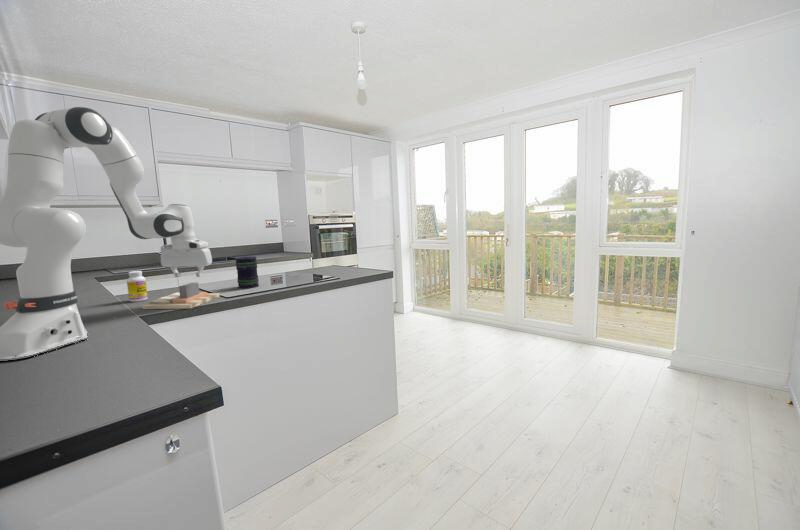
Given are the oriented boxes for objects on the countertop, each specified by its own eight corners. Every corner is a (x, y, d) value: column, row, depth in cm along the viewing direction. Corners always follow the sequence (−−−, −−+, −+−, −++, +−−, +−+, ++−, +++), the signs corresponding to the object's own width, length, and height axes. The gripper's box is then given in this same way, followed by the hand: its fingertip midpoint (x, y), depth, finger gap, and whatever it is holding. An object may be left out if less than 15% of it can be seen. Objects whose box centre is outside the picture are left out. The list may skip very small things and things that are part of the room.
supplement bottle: (138, 302, 151) (134, 273, 149) (125, 302, 152) (121, 272, 150) (151, 298, 157) (148, 270, 155) (139, 298, 159) (135, 270, 157)
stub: (186, 302, 141) (184, 287, 140) (172, 303, 141) (170, 287, 140) (207, 294, 154) (205, 281, 154) (194, 295, 155) (192, 281, 154)
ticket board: (190, 308, 138) (189, 301, 137) (142, 309, 139) (141, 302, 139) (219, 296, 157) (218, 290, 157) (177, 297, 159) (176, 291, 158)
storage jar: (239, 285, 181) (236, 257, 179) (259, 284, 184) (257, 256, 182) (236, 289, 172) (233, 259, 170) (258, 287, 175) (255, 258, 173)
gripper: (154, 245, 142) (159, 278, 144) (203, 244, 141) (207, 277, 143) (165, 243, 148) (170, 275, 151) (212, 242, 147) (216, 274, 149)
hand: (188, 276), depth 147 cm, fingers open, 8 cm apart
